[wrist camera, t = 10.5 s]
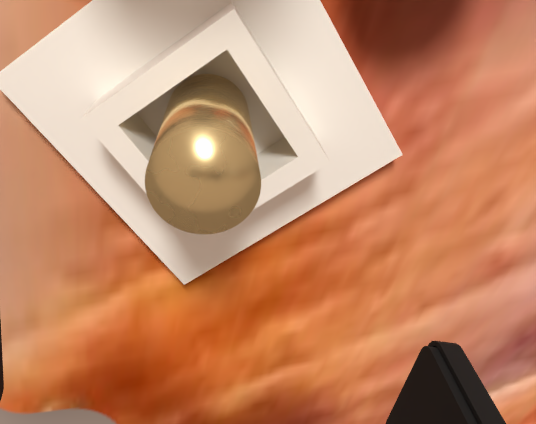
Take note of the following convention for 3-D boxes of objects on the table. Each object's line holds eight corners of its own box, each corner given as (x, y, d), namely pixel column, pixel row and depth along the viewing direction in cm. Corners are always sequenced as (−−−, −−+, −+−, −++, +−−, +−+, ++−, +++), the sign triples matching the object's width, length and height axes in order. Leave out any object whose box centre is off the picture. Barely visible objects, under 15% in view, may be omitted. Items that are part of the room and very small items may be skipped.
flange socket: (396, 147, 29) (424, 179, 25) (185, 273, 32) (180, 320, 28) (252, -121, 22) (259, -138, 18) (0, 73, 25) (-43, 97, 21)
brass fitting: (264, 124, 27) (282, 197, 19) (199, 166, 28) (192, 252, 20) (217, 57, 25) (217, 105, 17) (150, 104, 26) (119, 171, 18)
